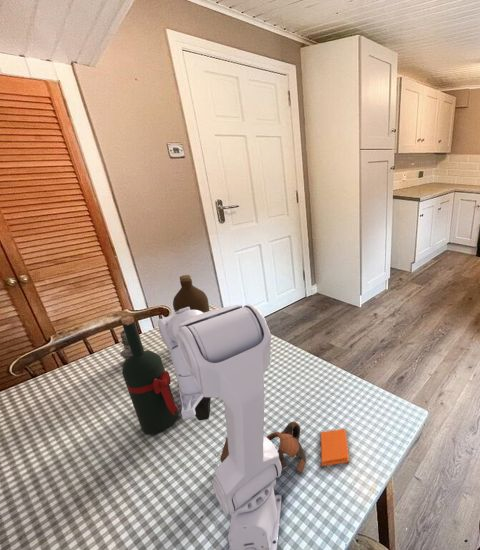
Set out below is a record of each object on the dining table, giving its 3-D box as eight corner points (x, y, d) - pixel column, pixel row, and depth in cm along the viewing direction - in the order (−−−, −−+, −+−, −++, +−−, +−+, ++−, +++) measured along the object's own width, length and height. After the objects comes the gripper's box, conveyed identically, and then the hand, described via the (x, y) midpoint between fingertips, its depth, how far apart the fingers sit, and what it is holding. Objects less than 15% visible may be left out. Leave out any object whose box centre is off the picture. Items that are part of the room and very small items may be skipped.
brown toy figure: (301, 489, 62) (276, 470, 58) (267, 489, 66) (242, 472, 62) (318, 430, 71) (298, 411, 68) (288, 434, 75) (267, 416, 72)
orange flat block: (349, 462, 67) (348, 458, 66) (321, 466, 66) (321, 462, 66) (345, 431, 74) (345, 428, 74) (320, 435, 73) (320, 431, 73)
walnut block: (248, 470, 65) (245, 454, 63) (224, 474, 64) (220, 457, 62) (253, 449, 70) (250, 434, 68) (230, 453, 69) (226, 437, 67)
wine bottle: (167, 440, 72) (132, 331, 61) (133, 431, 74) (94, 324, 63) (193, 414, 79) (165, 313, 68) (161, 406, 81) (130, 307, 70)
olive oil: (198, 329, 117) (185, 269, 108) (221, 334, 114) (209, 272, 105) (175, 345, 107) (158, 280, 98) (200, 350, 105) (184, 284, 95)
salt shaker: (126, 356, 101) (115, 325, 97) (147, 352, 103) (137, 321, 99) (121, 367, 96) (109, 335, 92) (143, 362, 98) (133, 330, 94)
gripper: (205, 387, 56) (218, 441, 61) (218, 344, 69) (228, 390, 74) (162, 395, 54) (179, 449, 59) (184, 348, 67) (196, 396, 72)
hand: (204, 417), depth 66 cm, fingers closed
